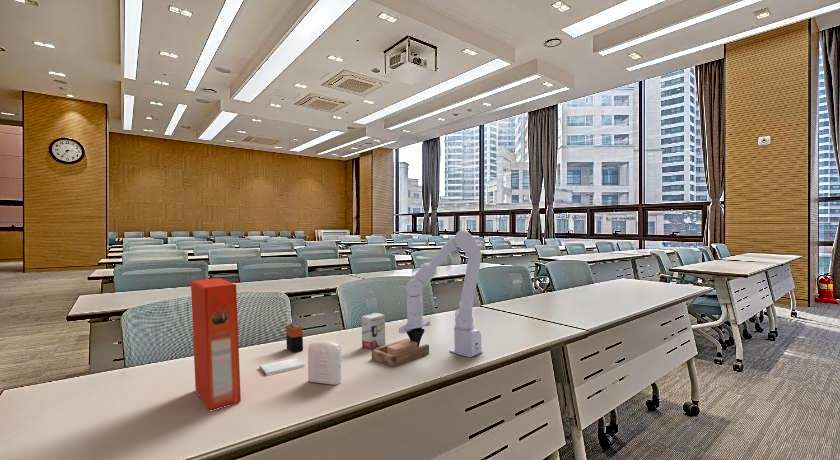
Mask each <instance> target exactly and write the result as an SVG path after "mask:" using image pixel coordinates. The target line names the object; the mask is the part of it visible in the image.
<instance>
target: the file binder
mask: <svg viewBox="0 0 840 460" xmlns="http://www.w3.org/2000/svg"><path fill="white" fill-rule="evenodd" d="M190 289H191V290H190V292H191V293H190V296H191V313H192V314H191V315H192V317H191V318H192V336H193V338H192V339H193V341H192V342H193V359H194V360H193V361H194V362H193V363H194V379H195V380H194V381H195V382H194V383H195V384H194V385H195V386H194V387H195V391H196V390H197V391H196V392H198V393H197V394H198V396H199V395H200V396H199V397H200V399H201V401H202V400H203V401H202V402H203V404H204V405H205V407H206V409H207V411H208V412H211V411H210V410H213V411H215V410H214V409H217V408H220V407H223V408H225V407H224V406H227V407H229V406H228V405H230V406H233V405H236V403H237V404H239V403H240V402H241V401H242V400H241V399H242V398H241V397H242V395H241V374H240V352H239V349H240V347H239V325H238V324H239V323H238V321H239V320H238V298H237V295H238V294H237V284H235V283H234V282H230V281H229V280H226V279H223V278H221V277H215V278H206V279H197V280H191V281H190ZM220 409H221V408H220ZM217 410H218V409H217Z"/></svg>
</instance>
